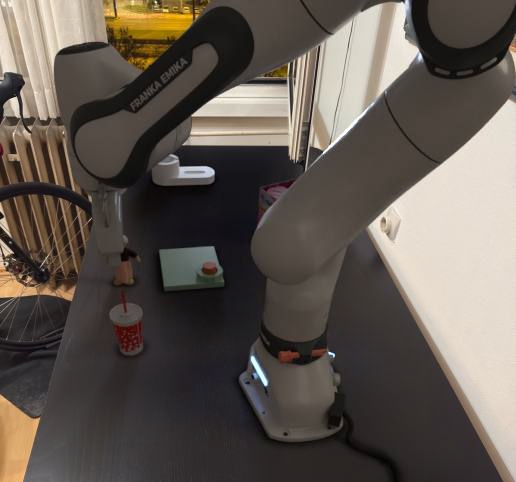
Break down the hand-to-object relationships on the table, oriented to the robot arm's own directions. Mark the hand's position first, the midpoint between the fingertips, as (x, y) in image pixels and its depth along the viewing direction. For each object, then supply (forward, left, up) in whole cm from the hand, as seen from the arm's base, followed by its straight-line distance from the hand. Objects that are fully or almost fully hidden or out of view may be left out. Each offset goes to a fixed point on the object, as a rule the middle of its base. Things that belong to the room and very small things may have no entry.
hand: (115, 248), depth 81 cm
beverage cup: (0, 0, -23) cm, 23 cm away
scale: (+26, -15, -23) cm, 38 cm away
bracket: (+78, -19, -23) cm, 84 cm away
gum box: (+42, -47, -23) cm, 67 cm away
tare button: (+21, -19, -20) cm, 35 cm away
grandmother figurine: (+23, 0, -23) cm, 33 cm away
